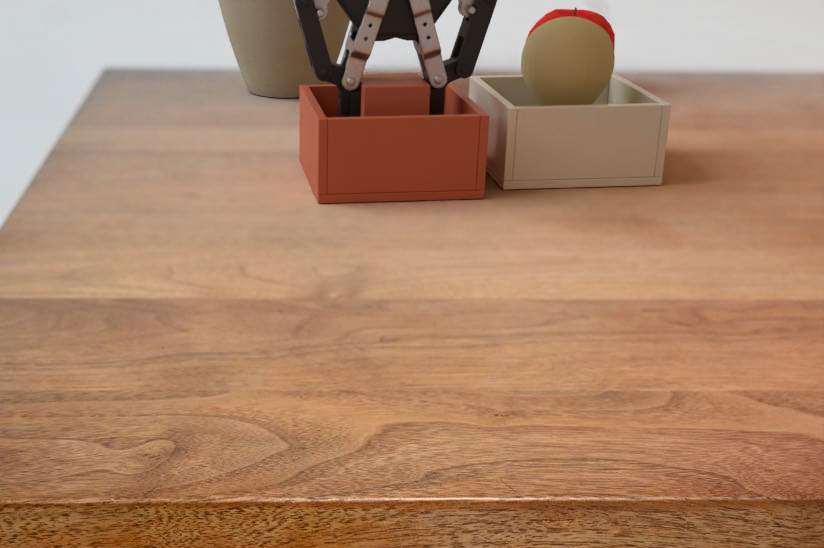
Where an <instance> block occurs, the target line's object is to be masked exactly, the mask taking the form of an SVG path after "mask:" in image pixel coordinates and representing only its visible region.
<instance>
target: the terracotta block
mask: <svg viewBox="0 0 824 548" xmlns="http://www.w3.org/2000/svg"><path fill="white" fill-rule="evenodd" d="M358 88H359V89H360V91H361V117H367V116H410V115H429V107H430V85H429V84H428V83H427V82H426V81H425V80H424V79H423V76H421V75H420V74H419V73H418V72H397V73H395V72H394V73H363V74H362V77H361V80H360V83H359V86H358Z"/></svg>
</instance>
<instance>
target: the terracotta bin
mask: <svg viewBox="0 0 824 548" xmlns="http://www.w3.org/2000/svg"><path fill="white" fill-rule="evenodd" d="M298 123H299V124H298V125H299V126H298V127H299V130H298V131H299V135H298V136H299V141H298V142H299V143H298V144H299V148H298V149H299V150H298V151H299V154H298V159H299V162H300V165H301V167H302V170H303V172H304V174H305V176H306V178H307V181H308V183H309V185H310V188H311V190H312V192H313V195H314V198H315V200H316V202H317V203H318V204H345V203H347V204H348V203H350V204H351V203H378V202H379V203H380V202H381V203H383V202H385V203H386V202H412V201H415V202H416V201H417V202H418V201H448V200H449V201H451V200H452V201H453V200H483V199H485V192H486V191H485V190H486V175H487V171H486V161H487V146H488V130H489V115H488V114H487V113H486V112H485V111H483V110H482V109H481V108H480V107H479V106H478V105H477V104H476V103H475V102H473V101H472V100H471V99H470V98H469V95H467V94H466V93H464V91H463V90H461V88H459V87H458V86H457V85H456V84H455V83H453V81H452V82H450V83H449V84H448V85H447V86H446V88H445V91H444V110H443V115H410V116H367V117H338V87H337V86H336V85H334V84H332V83H329V84H320V85H300V97H299V122H298Z"/></svg>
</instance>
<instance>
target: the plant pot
mask: <svg viewBox="0 0 824 548" xmlns="http://www.w3.org/2000/svg"><path fill="white" fill-rule="evenodd" d="M217 2H218V5H219V9H220V12H221V15H222V19H223V23H224V26H225V30H226V32H227V33H226V34H227V36H228V40H229V42H230V46H231V48H232V51H233V54H234V57H235V60H236V64H237V66H238V68H239V71H240V74H241V76H242V79H243V81H244V83H245V86H246V89H247V91H248V92H249V93H250V94H254V95H257V96H259V97H266V98H279V99H295V98H296V99H297V98H299V99H300V85H320V84H330V83H329V82H326V81H325V82H324V81H320V80H319V79H318V78H317V77H316V75H315V74H314V72H313V70H312V68H311V64H310V61H309V57H308V54H307V50H306V47H305V43H304V40H303V36H302V33H301V29H300V26H299V22H298V19H297V15H296V12H295V8H294V5H293V1H292V0H217ZM350 23H351V21H350V19H349V18H348V16H347V15H346V14H345V12H344V11H343V9H342V8H341V6H340V5H339V3H338V2H337V1H336V0H331V1H330V2H329V4H328V16H327V17H326V19H324V20H323V21H320V25H321V28H322V32H323V35H324V39H325V42H326V46H327V50H328V53H329V57H330V60H331V61H332V62H335V63H338V60H339V58H340V54H341V52H342V48H343V45H344V42H345V38H346V35H347V33H348V29H349V26H350Z"/></svg>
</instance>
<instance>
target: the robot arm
mask: <svg viewBox="0 0 824 548" xmlns="http://www.w3.org/2000/svg"><path fill="white" fill-rule="evenodd" d="M292 1H293V5H294V8H295V12H296V15H297V19H298V22H299V26H300V29H301V33H302V36H303V40H304V43H305V47H306V50H307V54H308V57H309V61H310V64H311V68H312V70H313V72H314V74H315V75H316V77H317V78H318V79H319V80H320V81H324V82H325V81H326V82H329V84H334V85H336V86H337V87H338V117H361V91H360V89H359V88H358V86H359V83H360V80H361V77H362V74H364V71H365V68H366V65H367V62H368V60H369V58H370V57H371V54H372V51H373V48H374V46H375V42H386V41H389V40H392V39H399V40H402V41H408V42H409V41H412V44H413V47H414V50H415V52H416V55H417V58H418V63H419V65H420V71H421V73H422V78H423V79H424V80H425V81H426V82H427V83H428V84H429V85H430V107H429V115H443V110H444V91H445V88H446V86H447V85H448V84H449V83H450V82H452V83H453V82H454V81H457V80H459V79H464V80H465V79H470V76H473V74H474V71H475V68H476V65H477V62H478V59H479V56H480V53H481V50H482V47H483V44H484V41H485V38H486V35H487V33H488V30H489V27H490V24H491V21H492V19H493V18H492V17H493V15H494V11H495V9H496V6H497V4H498V0H457V2H458V4H457V11H458V13H459V14H460V15H461V16H462V20H461V24H460V26H459V30H458V32H457V35H456V38H455V41H454V45H453V47H452V51H451V53H450V57H449V58H447V59H443V56H442V47H441V43H440V39H439V36H438V33H437V28H436V23H437V22H438V20H439V19H440V18H441V16H442V15H443V13H444V12H445V11H446V9H447V8H448V7H449V6H450V4H451V2H452V1H453V0H336V1H337V2H338V3H339V5H340V6H341V8H342V9H343V11H344V12H345V14H346V15H347V16H348V18H349V19H350V23H351V25H350V27H349V31H348V34H347V37H346V40H345V45H344V46H345V47H344V51H343V55H342V57H341V61H340V63H339V62H337V63H335V62H332V61H331V60H330V57H329V53H328V50H327V46H326V42H325V39H324V35H323V32H322V28H321V25H320V21H323V20H324V19H326V17H327V16H328V4H329V2H330V1H331V0H292Z"/></svg>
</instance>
